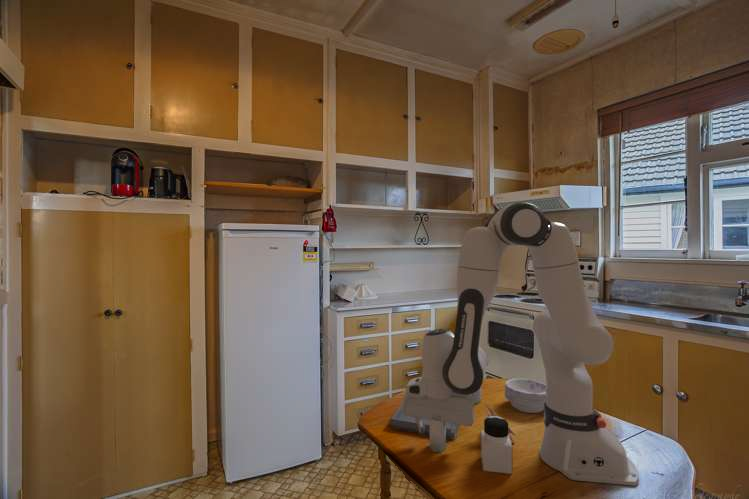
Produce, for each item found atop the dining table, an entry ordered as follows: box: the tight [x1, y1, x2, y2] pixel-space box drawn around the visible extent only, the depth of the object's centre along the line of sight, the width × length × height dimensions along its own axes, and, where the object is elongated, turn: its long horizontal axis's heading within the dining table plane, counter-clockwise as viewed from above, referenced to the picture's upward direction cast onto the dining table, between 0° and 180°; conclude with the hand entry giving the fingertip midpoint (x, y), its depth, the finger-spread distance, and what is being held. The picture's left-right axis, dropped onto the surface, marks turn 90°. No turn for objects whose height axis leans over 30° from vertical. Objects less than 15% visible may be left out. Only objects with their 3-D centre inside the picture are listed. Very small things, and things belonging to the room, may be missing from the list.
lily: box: [483, 402, 516, 444], centre depth 111 cm, size 12×12×10 cm
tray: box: [390, 401, 456, 441], centre depth 122 cm, size 20×16×3 cm
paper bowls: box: [504, 378, 546, 414], centre depth 132 cm, size 15×15×8 cm
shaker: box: [428, 415, 447, 453], centre depth 107 cm, size 5×5×10 cm
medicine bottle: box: [480, 415, 513, 475], centre depth 98 cm, size 7×7×12 cm
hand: (437, 435), depth 107 cm, fingers open, 8 cm apart
